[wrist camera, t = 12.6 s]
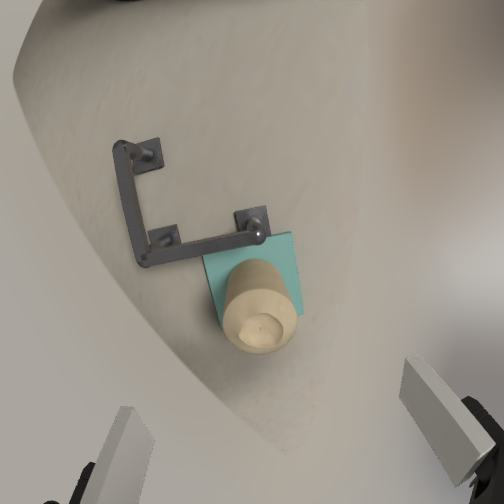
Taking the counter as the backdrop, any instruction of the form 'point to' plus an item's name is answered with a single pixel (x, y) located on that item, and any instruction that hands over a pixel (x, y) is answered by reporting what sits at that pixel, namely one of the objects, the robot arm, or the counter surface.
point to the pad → (272, 250)
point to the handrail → (167, 238)
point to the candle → (258, 308)
